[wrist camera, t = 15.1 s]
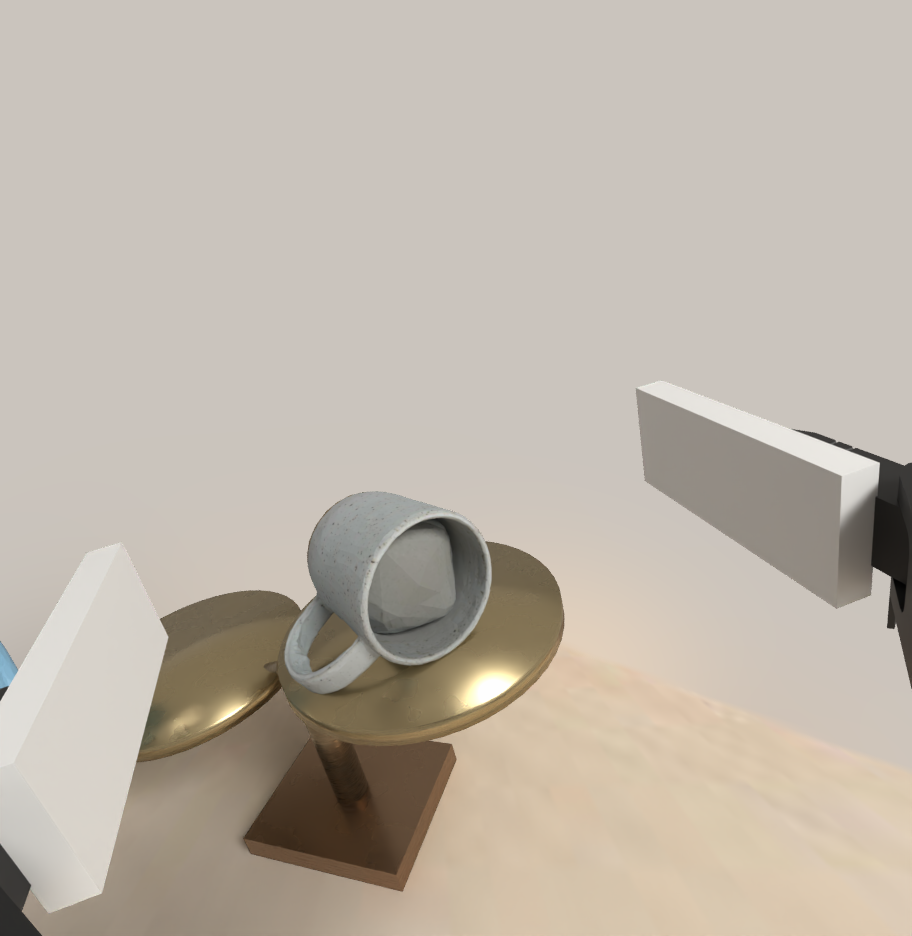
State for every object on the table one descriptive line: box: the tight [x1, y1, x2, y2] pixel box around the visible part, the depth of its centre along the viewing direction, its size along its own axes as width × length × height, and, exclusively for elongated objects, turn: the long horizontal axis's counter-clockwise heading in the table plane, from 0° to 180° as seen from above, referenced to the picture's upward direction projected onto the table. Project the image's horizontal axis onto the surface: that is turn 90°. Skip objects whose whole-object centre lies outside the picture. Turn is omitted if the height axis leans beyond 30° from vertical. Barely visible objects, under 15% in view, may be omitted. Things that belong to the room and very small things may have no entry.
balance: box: [136, 541, 564, 891], centre depth 42 cm, size 35×16×18 cm, turn 70°
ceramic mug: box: [284, 492, 492, 694], centre depth 33 cm, size 11×8×8 cm
